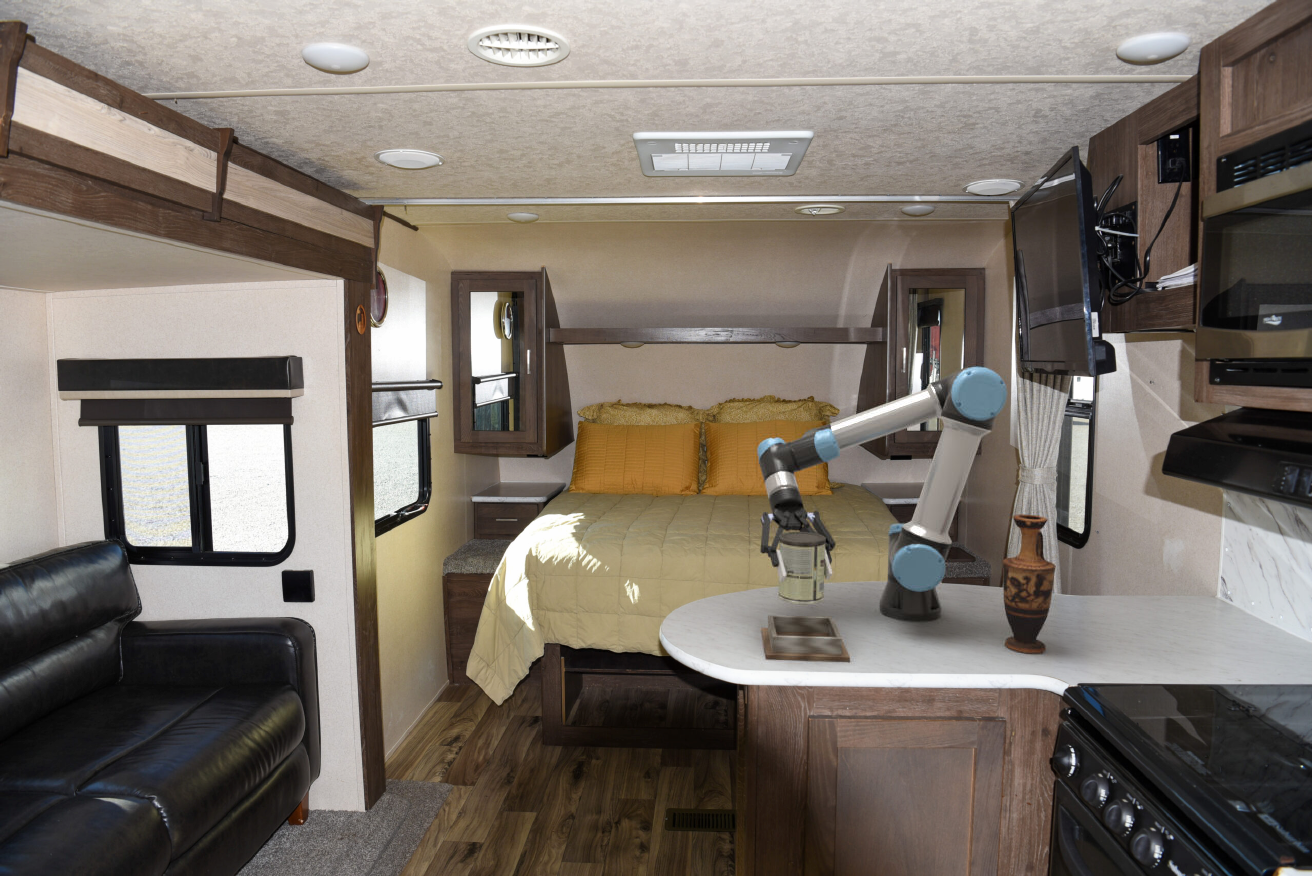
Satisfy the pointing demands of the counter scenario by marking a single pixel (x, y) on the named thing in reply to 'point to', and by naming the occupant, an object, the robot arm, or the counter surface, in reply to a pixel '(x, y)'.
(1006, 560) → the vase
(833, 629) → the collar board
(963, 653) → the counter surface
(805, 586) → the coffee can
